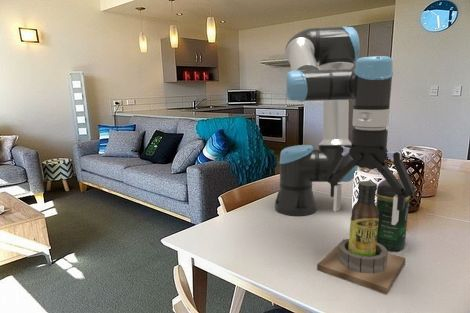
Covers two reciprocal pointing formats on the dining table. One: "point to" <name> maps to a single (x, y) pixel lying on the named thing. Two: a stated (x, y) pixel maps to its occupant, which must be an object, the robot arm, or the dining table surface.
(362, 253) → the sauce bottle
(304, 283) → the dining table surface
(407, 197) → the coffee jar
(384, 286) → the ring collar
